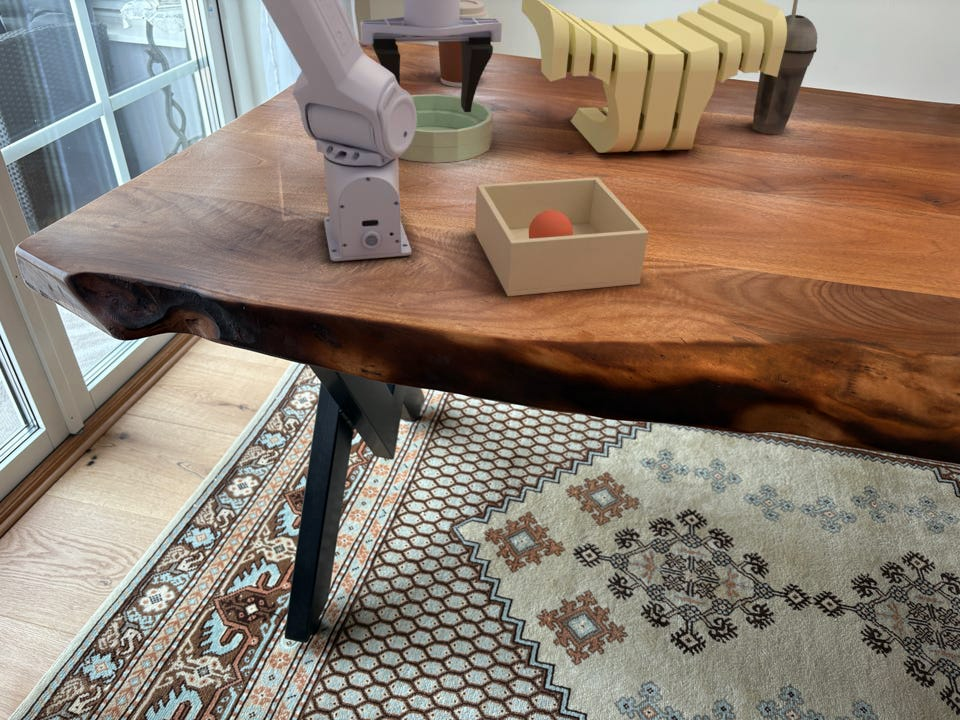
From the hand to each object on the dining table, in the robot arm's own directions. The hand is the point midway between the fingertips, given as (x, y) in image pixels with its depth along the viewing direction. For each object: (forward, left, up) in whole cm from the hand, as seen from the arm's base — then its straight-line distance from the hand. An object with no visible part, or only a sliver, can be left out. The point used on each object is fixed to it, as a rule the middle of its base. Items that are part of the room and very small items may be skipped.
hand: (431, 110), depth 85 cm
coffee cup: (+44, -13, -10) cm, 47 cm away
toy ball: (-18, -9, -9) cm, 22 cm away
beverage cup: (+15, -53, -10) cm, 56 cm away
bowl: (+15, -3, -9) cm, 18 cm away
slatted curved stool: (+14, -31, -10) cm, 35 cm away
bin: (-18, -9, -9) cm, 22 cm away
